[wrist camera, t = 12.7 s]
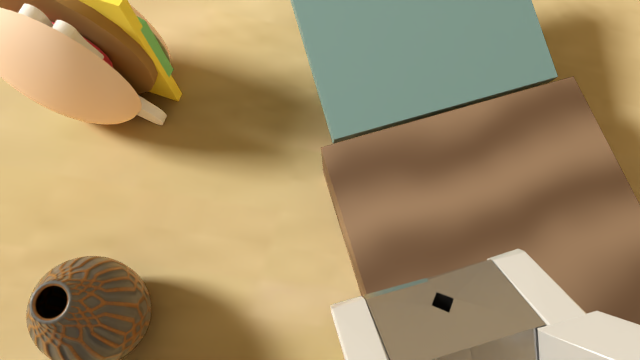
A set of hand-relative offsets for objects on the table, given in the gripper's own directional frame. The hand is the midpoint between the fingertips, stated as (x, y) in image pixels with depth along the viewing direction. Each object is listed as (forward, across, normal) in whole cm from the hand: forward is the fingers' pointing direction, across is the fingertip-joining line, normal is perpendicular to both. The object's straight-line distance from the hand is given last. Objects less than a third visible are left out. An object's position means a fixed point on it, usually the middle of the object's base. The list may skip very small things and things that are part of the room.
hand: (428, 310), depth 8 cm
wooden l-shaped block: (+24, -10, +18) cm, 31 cm away
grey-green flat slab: (+28, -10, +8) cm, 31 cm away
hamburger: (+39, +14, +3) cm, 41 cm away
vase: (+26, +16, +16) cm, 34 cm away
